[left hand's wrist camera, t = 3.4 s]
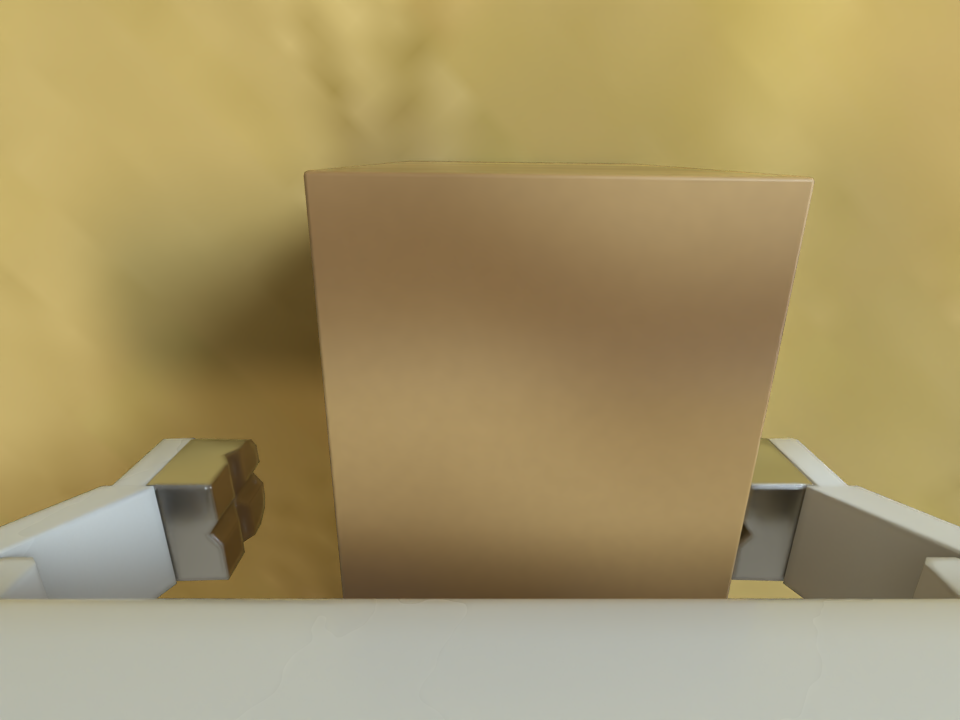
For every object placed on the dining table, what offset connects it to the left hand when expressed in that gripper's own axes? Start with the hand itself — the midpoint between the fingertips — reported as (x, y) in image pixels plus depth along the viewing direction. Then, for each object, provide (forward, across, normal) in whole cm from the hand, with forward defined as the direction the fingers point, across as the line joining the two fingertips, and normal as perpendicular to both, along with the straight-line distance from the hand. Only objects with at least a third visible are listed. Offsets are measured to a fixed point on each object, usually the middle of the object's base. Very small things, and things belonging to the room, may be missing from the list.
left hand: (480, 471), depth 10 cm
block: (+5, +1, -32) cm, 33 cm away
